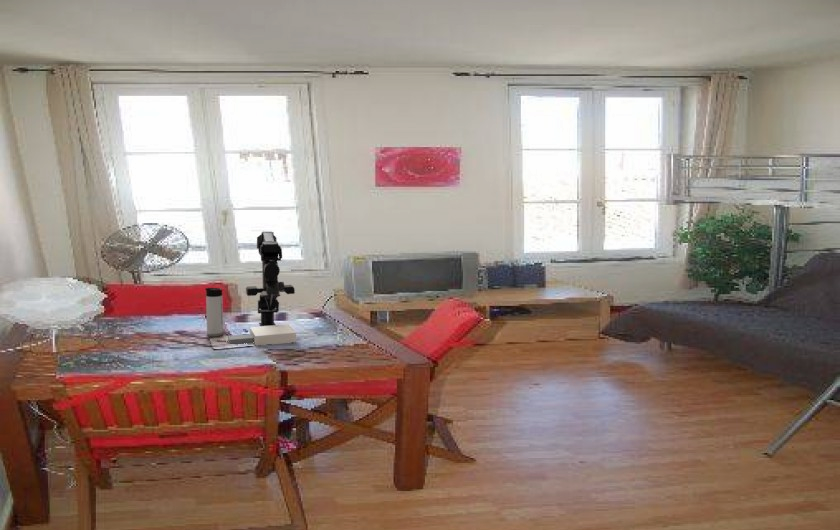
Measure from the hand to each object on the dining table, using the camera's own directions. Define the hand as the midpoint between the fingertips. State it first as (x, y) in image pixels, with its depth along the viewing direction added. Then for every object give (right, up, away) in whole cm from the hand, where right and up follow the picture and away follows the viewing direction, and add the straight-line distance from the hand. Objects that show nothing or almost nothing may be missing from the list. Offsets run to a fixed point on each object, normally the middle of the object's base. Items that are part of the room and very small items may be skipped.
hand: (270, 310), depth 216 cm
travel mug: (-24, -10, +3) cm, 26 cm away
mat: (-13, -12, -8) cm, 20 cm away
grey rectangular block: (-10, -12, -7) cm, 17 cm away
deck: (+1, -12, -1) cm, 12 cm away
